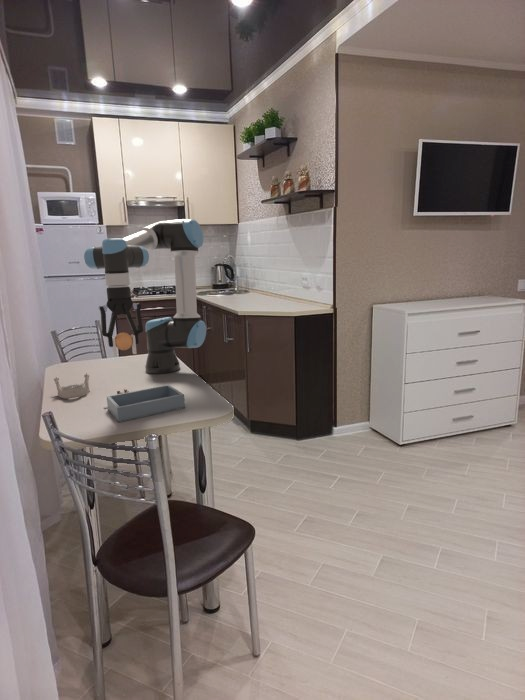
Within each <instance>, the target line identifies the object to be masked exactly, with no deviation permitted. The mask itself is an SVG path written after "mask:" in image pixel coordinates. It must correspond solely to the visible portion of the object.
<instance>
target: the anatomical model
mask: <svg viewBox="0 0 525 700" xmlns="http://www.w3.org/2000/svg"><path fill="white" fill-rule="evenodd" d="M83 377H84V382H83V383H80V384H79V383H78V384H77V383H75V384H69V385H66V386H64V385H63V386H61V384H60V382H59V380H60V378H59V377H57V376H56V377H55V378H53V381H54V383H55V387H56V390H57V397H58V398H61V399H64V400H68V399H75V398H82V397H84V396H87V394H89V392H91V390H90V387H89V385H90V384H89V383H90V382H89V380H90V379H89V377H90V374H88V373H85V374H84V375H83Z"/></svg>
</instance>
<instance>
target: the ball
mask: <svg viewBox="0 0 525 700" xmlns="http://www.w3.org/2000/svg"><path fill="white" fill-rule="evenodd" d="M114 337H115V344H116V349H118V350H121V351H126V350H129V349H130V348H132V343H133V340H132V337H131V334H129V333H128V332H119V333H118V334H116V335H115V336H114Z"/></svg>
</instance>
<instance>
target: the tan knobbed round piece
mask: <svg viewBox="0 0 525 700" xmlns="http://www.w3.org/2000/svg"><path fill="white" fill-rule="evenodd" d="M127 392H130V391H128V389H126V388H125V389H124V390H123V392H122V391H121V390H117V391H116V394H121V393H127Z"/></svg>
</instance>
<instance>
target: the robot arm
mask: <svg viewBox="0 0 525 700" xmlns="http://www.w3.org/2000/svg"><path fill="white" fill-rule="evenodd" d="M101 244H102V246H97V247H96V246H93V247H88V248H87V249H86V250H85V252H84V254H83V259H84V262H85V265H86V267H88V268H89V269H93V270H94V269H97V270H100V269H101V270H102V269H104V276H105V286H107V288H106V295H107V297H106V298H107V302H106V304H104V305H102V306H101V305H99V306H98V310H99V312H100V325H101V326H100V327H101V330H100V331H101V335H102V336H103V337H106V338H107V343H108V347H109V348H111V349H112V357H114V358H115V357H116V358H117V356H118V355H117V347H116V344H115V337H116V336H113V334H114V331H115V326H116V320H117V319H118V318H117V317H118V316H120V315H125V317H126V320H127V322H128V324H129V327H130V329H131V331H132V334H130V336H131V337H132V340H133V343H132V346H131V349H132V354H133V355H137V354H138V353H137V345H139V343H140V342H139V334H142V333H143V332H144V326H143V322H142V315H141V314H142V313H141V308H142V304H141V303H140V302H137V303H136V302H133V300H132V293H131V287H130V283H131V282H130V273H129V272H130V271H129V268H130V269H131V268H139V269H140V268H142V267H144V266H146V265H147V264H148V262H149V260H150V254H149V251H153V250H159V249H160V250H161V249H165V250H167V249H168V250H169V249H170V253H171V254H172V256H173V257H174V275H175V279H174V280H175V281H174V282H175V301H176V302H175V303H176V305H175V306H176V313H175V314H174V315H173V318H172V317H171V316H167V317H160V318H154V319H150V320H147V321H146V323H145V336H146V348H147V358H146V361H145V362H146V363H145V365H144V368H145V373H148V374H152V375H153V374H155V375H156V374H157V375H158V374H160V375H161V374H168V373H174V372H176V371H179V370H180V369H181V364H180V361H179V358H178V357H177V354H176V351H175V348H180V349H181V348H183V349H185V348H186V349H195V348H199V347H201V346H202V345H203V344H204V342H205V340H206V336H207V326H206V323H205V322H204V321H203V320H201V319H202V318H201V317H202V316H201V315H200V314H199V313H198V309H197V308H198V306H197V305H198V304H197V303H198V302H197V279H196V278H197V275H196V255H197V254H198V253H199V248H201V247H203V244H204V233H203V229H202V227H201V225H200V223H199V222H198V221H197V220H196V219H194V218H193V219H192V218H182V219H180V218H179V219H170V220H160V221H157V222H154V223H151V224H149V225H147V226H144V227H142V228H140V229H139V230H138V231H137V232H136V233H133V234H130V235H128V236H125V237H123V238H116V237H115V238H105V239H103V240H102V242H101ZM132 307H133V309H134V312H135V321H136V325H135V322H134V320H133V317H132V314H131V312H130V310H131V308H132ZM108 309H109V311H111V314H110V315H111V316H110V320H109V321H110V322H109V324H108V325H109V326H108V329H107V313H106V312H107V311H108ZM136 326H137V327H136Z"/></svg>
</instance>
